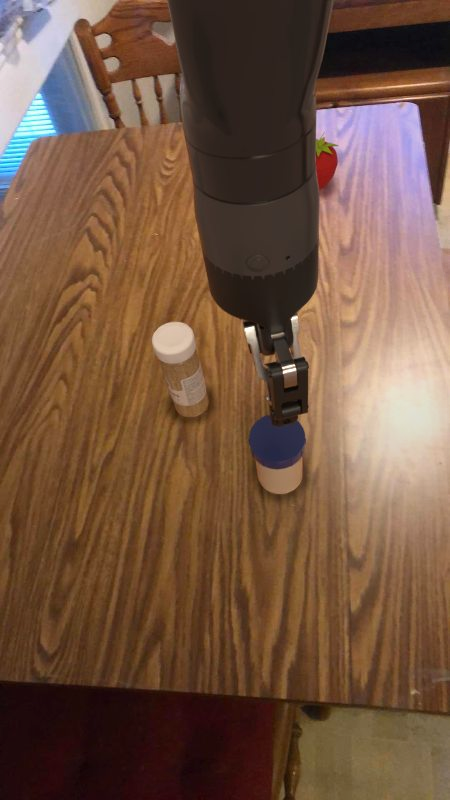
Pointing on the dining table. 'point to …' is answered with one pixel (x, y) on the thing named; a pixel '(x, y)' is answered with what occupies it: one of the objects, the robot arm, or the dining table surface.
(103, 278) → the dining table surface
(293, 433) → the jar lid
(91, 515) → the dining table surface
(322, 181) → the strawberry
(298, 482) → the jar
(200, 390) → the sprinkles bottle
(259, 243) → the robot arm
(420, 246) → the dining table surface
